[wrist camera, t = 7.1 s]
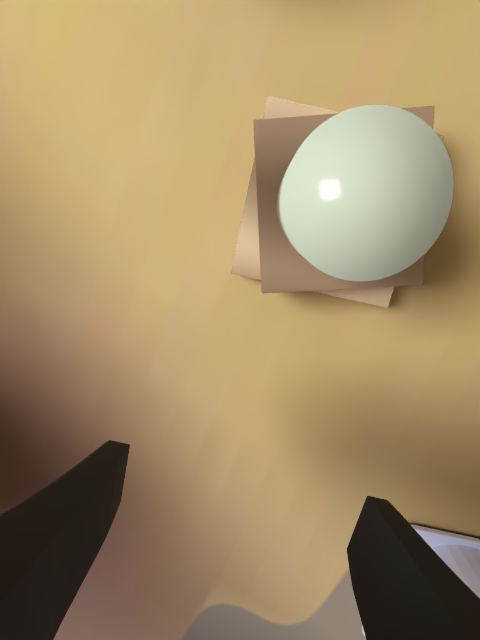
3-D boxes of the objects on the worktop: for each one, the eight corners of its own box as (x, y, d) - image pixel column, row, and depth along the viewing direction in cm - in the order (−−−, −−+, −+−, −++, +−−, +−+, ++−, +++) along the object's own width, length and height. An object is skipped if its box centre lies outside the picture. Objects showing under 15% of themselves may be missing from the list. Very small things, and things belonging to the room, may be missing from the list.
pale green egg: (380, 273, 16) (424, 294, 12) (266, 253, 16) (268, 266, 12) (413, 149, 15) (478, 121, 10) (289, 128, 15) (301, 90, 10)
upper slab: (404, 278, 18) (422, 284, 16) (261, 285, 18) (261, 293, 16) (413, 119, 16) (434, 105, 14) (253, 131, 17) (253, 119, 15)
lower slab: (375, 299, 20) (387, 307, 18) (233, 268, 20) (230, 273, 18) (424, 144, 18) (444, 135, 16) (266, 108, 18) (267, 95, 16)
